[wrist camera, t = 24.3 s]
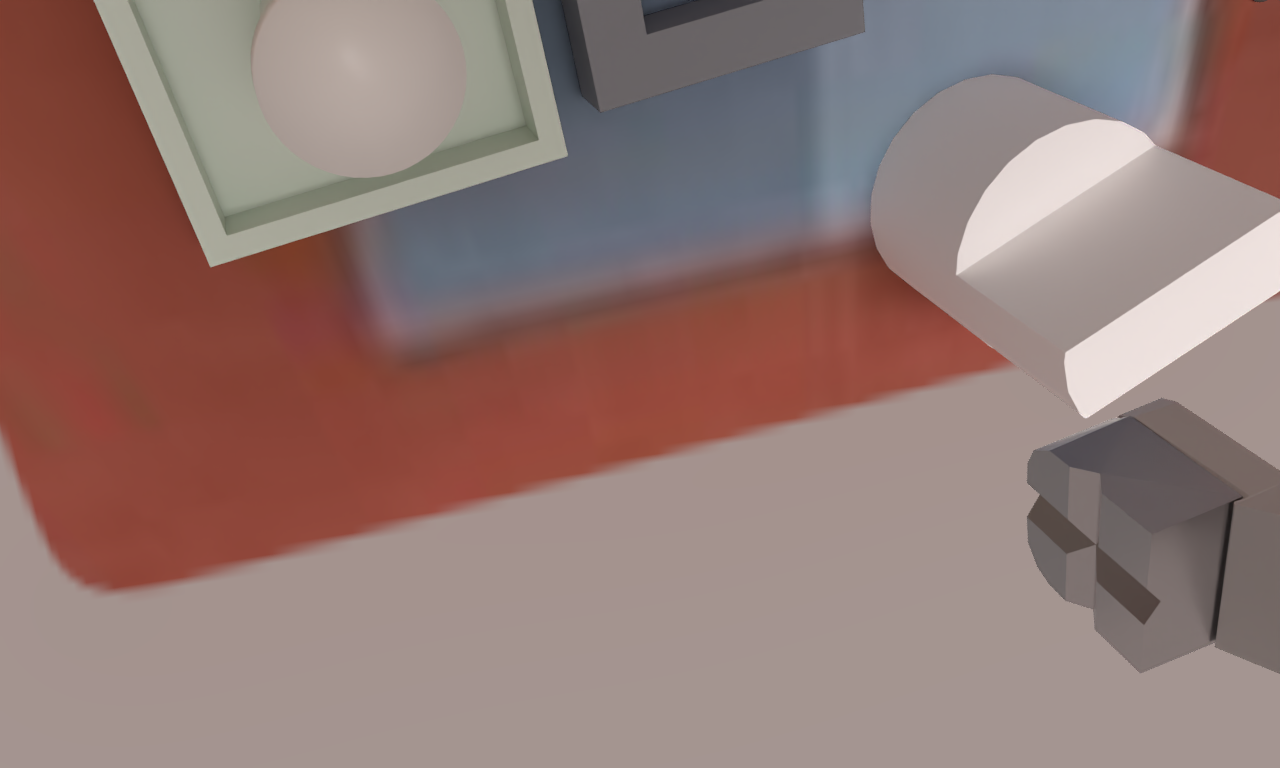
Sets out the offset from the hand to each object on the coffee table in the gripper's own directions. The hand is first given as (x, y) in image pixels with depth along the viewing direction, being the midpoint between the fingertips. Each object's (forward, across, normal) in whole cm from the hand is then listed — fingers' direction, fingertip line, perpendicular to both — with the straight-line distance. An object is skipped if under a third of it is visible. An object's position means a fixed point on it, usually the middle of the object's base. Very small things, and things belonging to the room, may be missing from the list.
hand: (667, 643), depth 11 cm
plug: (+28, 0, 0) cm, 29 cm away
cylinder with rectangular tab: (+29, -22, +13) cm, 39 cm away
